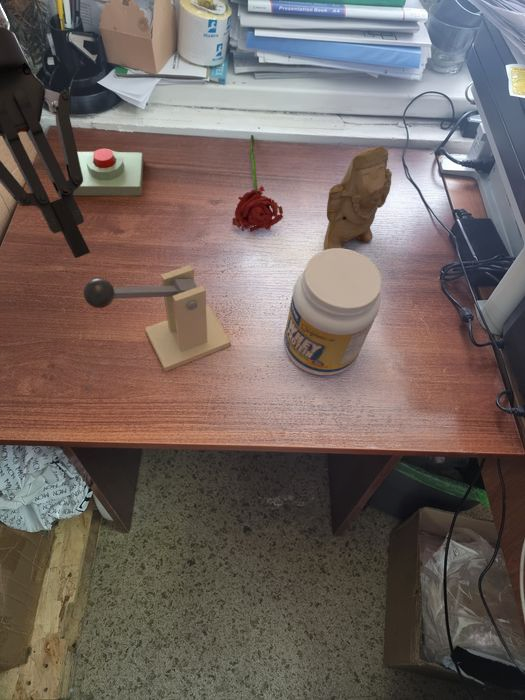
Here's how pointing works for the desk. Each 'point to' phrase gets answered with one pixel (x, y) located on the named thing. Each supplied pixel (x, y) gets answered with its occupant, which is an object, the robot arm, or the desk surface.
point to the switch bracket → (186, 325)
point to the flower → (256, 207)
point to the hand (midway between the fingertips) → (82, 255)
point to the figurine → (358, 198)
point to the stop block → (111, 175)
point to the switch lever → (130, 291)
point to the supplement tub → (332, 311)
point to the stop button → (103, 158)
